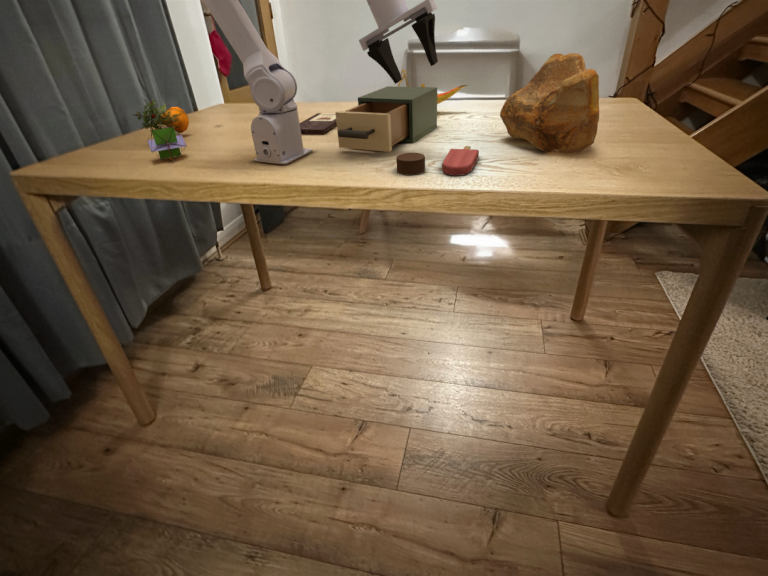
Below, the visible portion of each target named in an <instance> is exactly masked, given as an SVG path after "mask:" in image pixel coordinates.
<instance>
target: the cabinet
mask: <svg viewBox="0 0 768 576" xmlns="http://www.w3.org/2000/svg"><path fill="white" fill-rule="evenodd" d="M437 94H438V87H436V86H435V87H434V86H433V87H432V86H431V87H429V86H425V87H421V86H399V87H398V86H385V87H382V88H379V89H377V90H374V91H372V92H368V93H366V94H363V95H361V96H358V97H357V106H358V105H361V104H363V103H366V102H382V103H408V104H409V136H408V137H406V138H404V139H403V140H401V141H400V142H399V143H405V144H414V143H415V142H417V141H418V140H420V139H421V138H422V137H424V136H425V135H427V134H429V133H430V132H432V131H433V130H434V129H436V128H437V127H438V104H437Z"/></svg>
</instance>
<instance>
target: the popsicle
mask: <svg viewBox="0 0 768 576" xmlns="http://www.w3.org/2000/svg"><path fill="white" fill-rule="evenodd" d="M479 154H480V151H479V149H474V148H473V149H471V146H470V145H464V147H463V148H450V149H449V151H448V152H447V153H446V155H445V157H444V159H443V162H442V164H441V170H442V172H443V173H444V174H445V175H449V176H464V175H468V174H470V173H471V172H472V170H473V169H474V167H475V164H476V163H477V161H478V158H479V156H480V155H479Z"/></svg>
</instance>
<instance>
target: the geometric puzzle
mask: <svg viewBox="0 0 768 576" xmlns="http://www.w3.org/2000/svg"><path fill="white" fill-rule="evenodd" d="M160 126H161V129H156V130H151V129H150V130H151V132H150V131H149V132H150V133H149V134H150V136H148V139H147V140H146V142H147V143H148V147H149V149H150V153H151V154H153V155H155V153H156V152H157V153H156V156H158V158H159V159H160V160H162V161H164V160H165V159H169V158H171V159H170V161H171V162H175V160H177V159H179V157H182V156H183V155H182V154H183V153H184V151H185V150H186V147H187V143H186V141H185V139H184V137H183V134H182V133H178V132H177V131H175V130H174V129H175V128H174V127H170V126H169V127H167V126H164V125H160ZM158 127H159V125H158ZM182 148H183V149H182Z"/></svg>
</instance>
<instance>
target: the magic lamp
mask: <svg viewBox="0 0 768 576" xmlns="http://www.w3.org/2000/svg"><path fill="white" fill-rule="evenodd" d="M400 74H401V77H402V80H400V81H399V82H398V83H397V84H398V85H397V87H400V85H401V83H402V81H403V80H404V81H405V84H406V87H410V84H409V82H408V77H407V75H408V70H406V69H401V71H400ZM468 86H469V85H468V84H462V85H459V86H457V87H454V88H452V89H449V90H448V91H445V92H440V93H437V105H439V104H441V103H443V102H445V101H447V100H448V99H450V98H451V97H453V96H454V95H455V94H457V93H458V92H459V91H460V90H462V89H463V88H465V87H468ZM420 87H426V85H425V83H421V85H420Z"/></svg>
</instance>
